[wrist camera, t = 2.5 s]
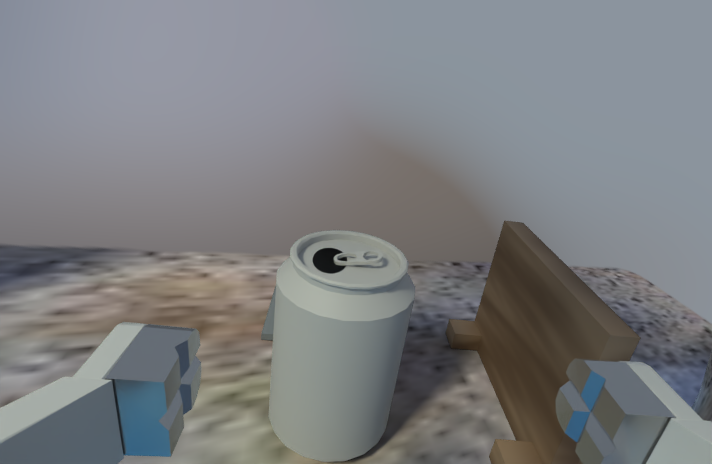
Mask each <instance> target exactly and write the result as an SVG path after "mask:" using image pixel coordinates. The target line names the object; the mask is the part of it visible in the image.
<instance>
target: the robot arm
mask: <svg viewBox="0 0 712 464" xmlns="http://www.w3.org/2000/svg"><path fill="white" fill-rule="evenodd" d="M199 347H200V337H199V332H198V330H197V329H192V328H182V327H172V326H162V325H152V324H148V325H147V324H139V323H128V322H123V323H120V324H118V325H117V326H116V327H115V328H114V329H113V330H112V331H111V333H110V334H109V335H108V336H107V337H106V338H105V340H104V341H103V342H102V343H101V344H100V345H99V347H98V348H97V349H96V350H95V351H94V353H93V354H92V355H91V356H90V357H89V358H88V360H87V361H86V362H85V363H84V364H83V365H82V367H81V368H80V369H79V370H78V371H77V373H76V374H75V375H74V376H73V377H63V378H61V379H59V380H57V381H54V382H52V383H50V384H48V385H46V386H44V387H42V388H40V389H38V390H36V391H34V392H32V393H30V394H28V395H26V396H24V397H22V398H20V399H18V400H16V401H14V402H12V403H10V404H8V405H6V406H4V407H1V408H0V464H118V463H119V462H120V461H121V460H122V459H123V458H124V455H127V456H162V457H171V455H172V453H173V451H174V449H175V446H176V444H177V442H178V439H179V437H180V435H181V433H182V430H183V428H184V420H183V415H184V414H185V413H187V412H188V411H189V410H191V409H192V407H193V405H194V402H195V400H196V397H197V394H198V390H199V386H200V379H201V362H200V361H199V359H198V358H197V357H196V356H195V355H196V353H197V351H198V349H199ZM566 374H567V376H568V379H569V381H568V382H567V383H566V384H564V385H563V386H562V387H560V388H559V391H558V394H557V397H556V415H557V418H558V421H559V424H560V425H561V427H562V429H563V431H564V433H565V434H567V435H568V436H569V437H570V438H572V439H573V440H574V441H576V442H577V444H576V450H575V452H576V454H577V455H578V457H579V459H580V460H581V462H582V464H712V422H711V421H704V420H702V418H701V417H700V416H699V415H698V414H697V413H696V412H695V411H694V410H693V409H692V408H691V407H690V406H689V405H688V404H687V403H686V402H685V401H684V400H683V399H682V398H681V397H680V396H679V395H678V394H677V393H676V392H675V391H674V390H673V389H672V388H671V387H670V386H669V385H668V384H667V383H666V382H665V381H664V380H663V379H662V378H661V377H660V376H659V375H658V374H657V373H656V372H655V371H654V370H653V369H652V368H651V367H650V366H649V365H647V364H645V363H643V362H630V361H619V362H616V361H603V360H589V359H574V360H573V361H572V362H571V363H570V364H569V366H568V369H567V371H566Z"/></svg>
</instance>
